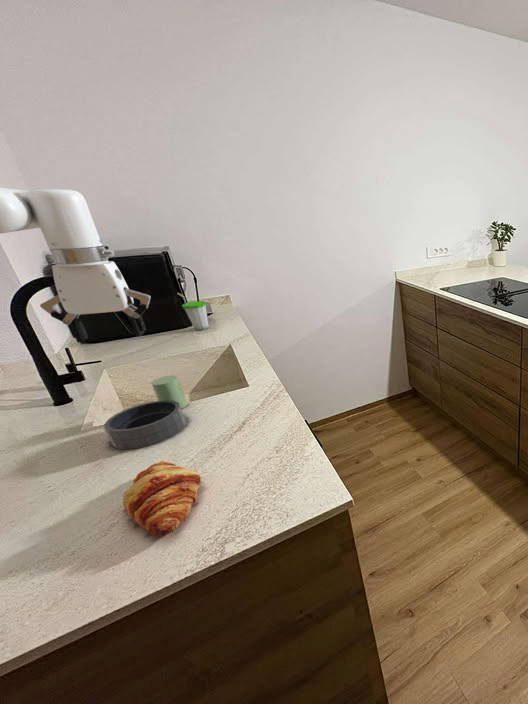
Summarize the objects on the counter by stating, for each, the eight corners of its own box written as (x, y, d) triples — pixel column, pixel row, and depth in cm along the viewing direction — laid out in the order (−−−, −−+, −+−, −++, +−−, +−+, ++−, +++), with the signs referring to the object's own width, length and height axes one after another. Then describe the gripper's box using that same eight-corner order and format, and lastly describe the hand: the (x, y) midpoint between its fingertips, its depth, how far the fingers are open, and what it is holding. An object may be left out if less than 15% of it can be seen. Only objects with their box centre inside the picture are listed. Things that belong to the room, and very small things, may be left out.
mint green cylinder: (160, 415, 90) (148, 386, 87) (166, 406, 94) (154, 377, 91) (185, 411, 92) (174, 382, 89) (190, 401, 96) (179, 373, 93)
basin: (103, 458, 75) (93, 437, 73) (126, 426, 86) (117, 407, 84) (179, 441, 80) (171, 422, 78) (192, 413, 91) (185, 395, 89)
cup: (218, 326, 153) (207, 290, 147) (201, 332, 146) (189, 294, 140) (202, 325, 155) (191, 289, 149) (185, 331, 148) (172, 293, 142)
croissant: (151, 493, 71) (109, 472, 66) (199, 453, 74) (163, 430, 69) (158, 567, 56) (105, 547, 51) (218, 512, 60) (174, 488, 55)
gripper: (141, 252, 81) (166, 327, 88) (31, 256, 75) (68, 337, 81) (128, 256, 75) (157, 337, 82) (8, 261, 68) (49, 349, 75)
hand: (112, 337), depth 82 cm, fingers open, 9 cm apart
